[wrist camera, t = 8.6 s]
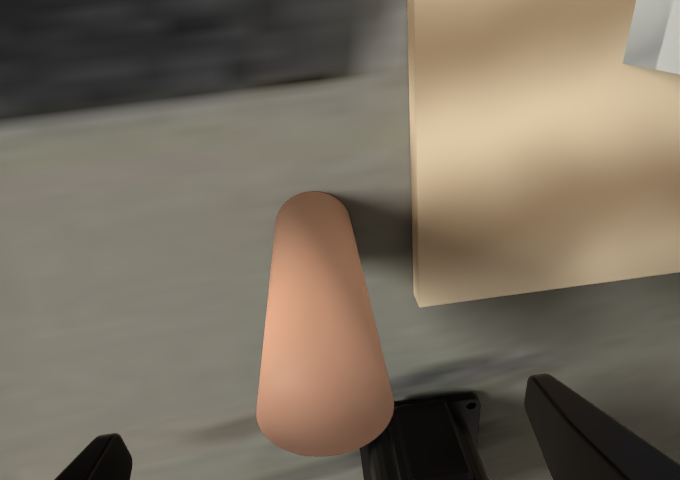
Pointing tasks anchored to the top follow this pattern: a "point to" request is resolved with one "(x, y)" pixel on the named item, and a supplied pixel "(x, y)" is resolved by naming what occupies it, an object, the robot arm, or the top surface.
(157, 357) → the top surface
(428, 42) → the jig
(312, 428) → the dowel
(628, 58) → the block
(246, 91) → the top surface
